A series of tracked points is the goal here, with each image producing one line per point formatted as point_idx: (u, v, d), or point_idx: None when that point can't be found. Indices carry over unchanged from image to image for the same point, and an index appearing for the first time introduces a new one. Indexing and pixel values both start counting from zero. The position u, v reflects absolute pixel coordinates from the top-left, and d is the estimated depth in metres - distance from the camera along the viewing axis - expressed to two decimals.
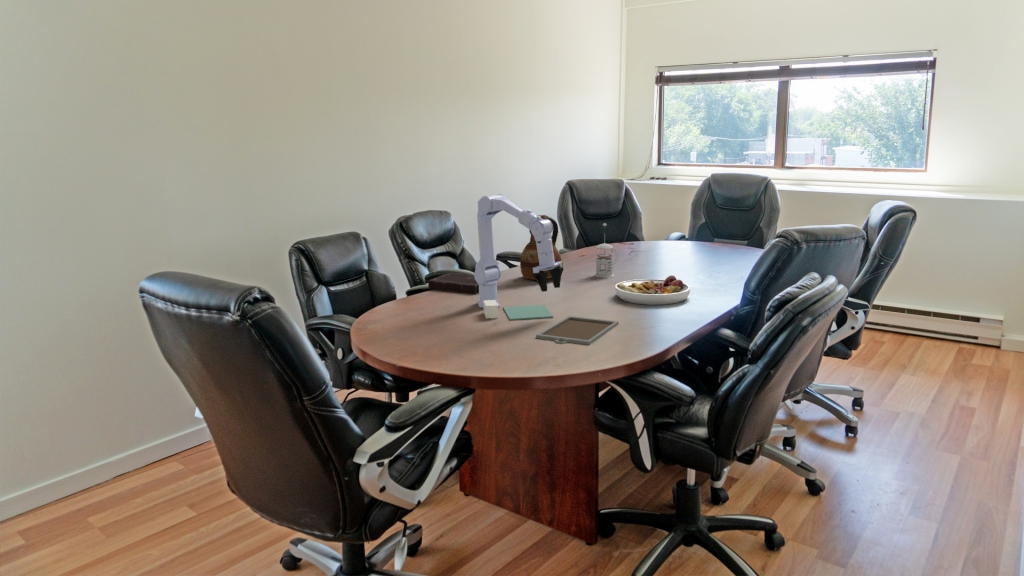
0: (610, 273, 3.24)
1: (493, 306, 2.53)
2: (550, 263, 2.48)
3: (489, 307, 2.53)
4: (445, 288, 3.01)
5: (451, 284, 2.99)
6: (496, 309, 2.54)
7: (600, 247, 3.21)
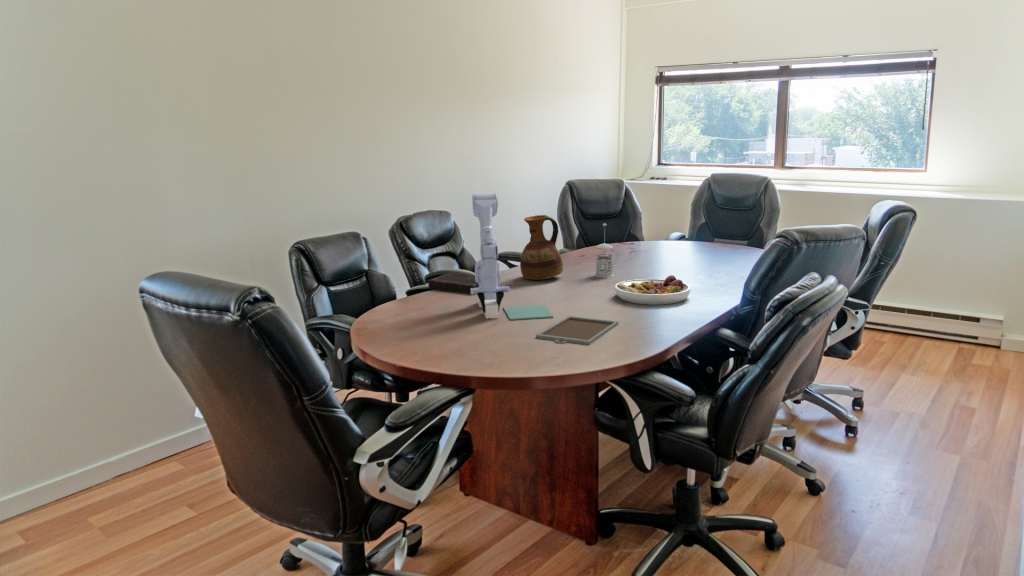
0: (610, 273, 3.24)
1: (493, 306, 2.53)
2: (487, 288, 2.53)
3: (489, 307, 2.53)
4: (444, 288, 3.01)
5: (451, 284, 2.99)
6: (496, 309, 2.54)
7: (600, 247, 3.21)
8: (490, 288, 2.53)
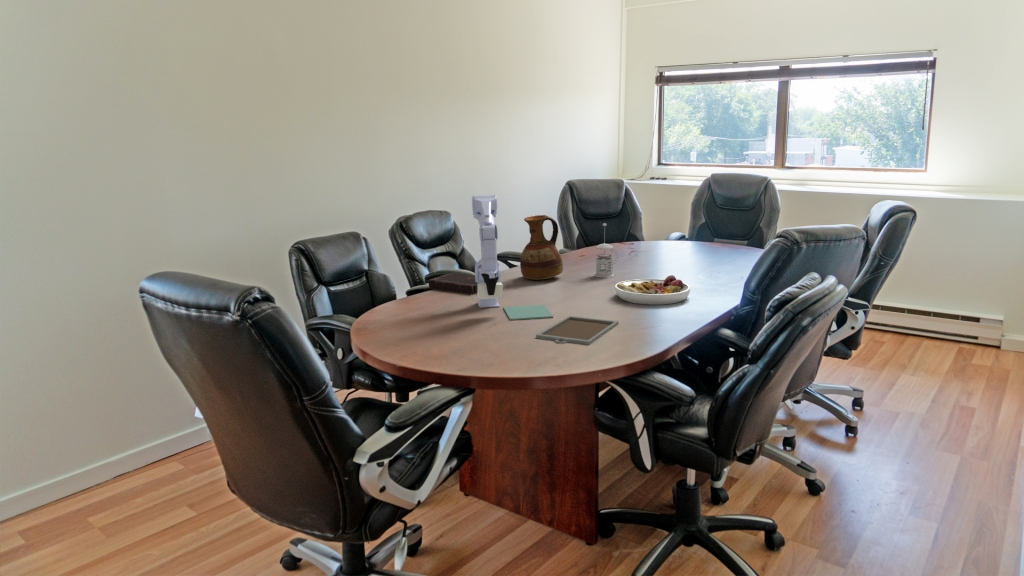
0: (610, 273, 3.24)
1: (478, 286, 2.55)
2: None
3: (477, 286, 2.56)
4: (444, 288, 3.02)
5: (450, 284, 3.00)
6: (478, 289, 2.54)
7: (600, 247, 3.21)
8: (481, 268, 2.54)
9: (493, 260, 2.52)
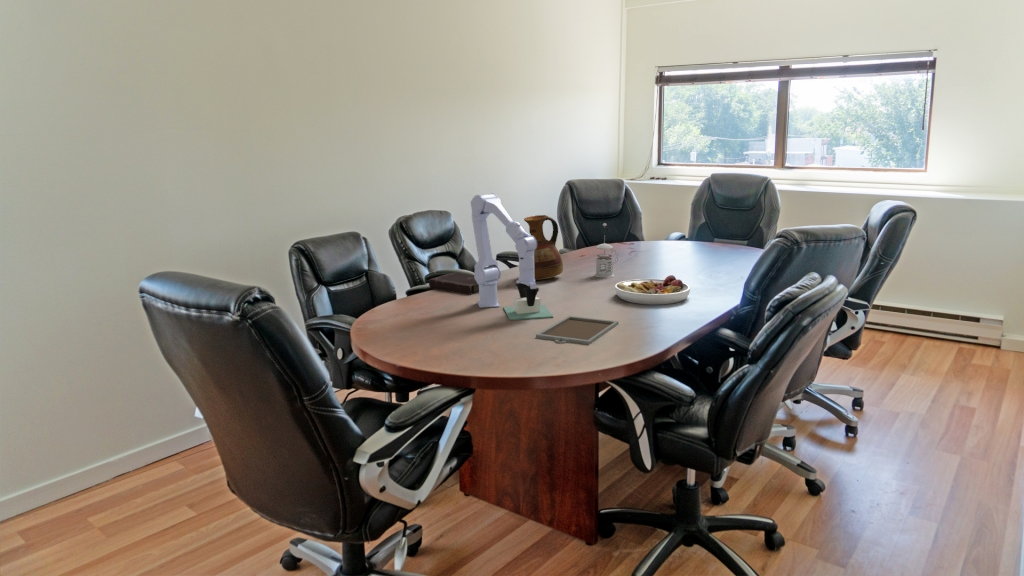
0: (610, 273, 3.24)
1: (516, 300, 2.58)
2: (519, 278, 2.58)
3: (514, 300, 2.59)
4: (443, 287, 3.02)
5: (449, 283, 3.00)
6: (517, 304, 2.57)
7: (600, 247, 3.21)
8: (519, 279, 2.57)
9: (532, 271, 2.55)
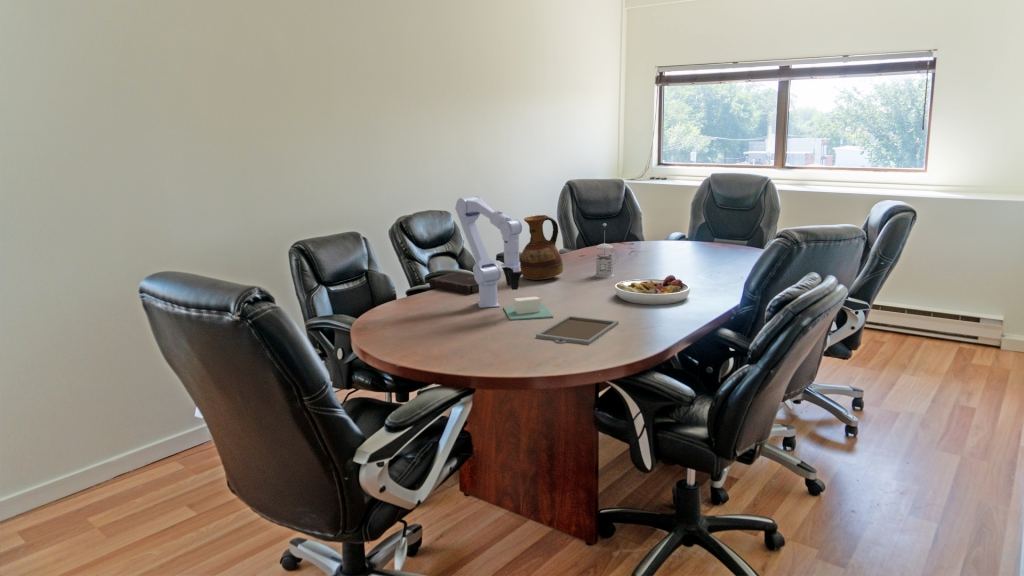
0: (610, 273, 3.24)
1: (516, 300, 2.58)
2: None
3: (514, 300, 2.59)
4: (443, 287, 3.03)
5: (448, 283, 3.00)
6: (517, 304, 2.57)
7: (600, 247, 3.21)
8: (504, 263, 2.59)
9: (516, 254, 2.57)
